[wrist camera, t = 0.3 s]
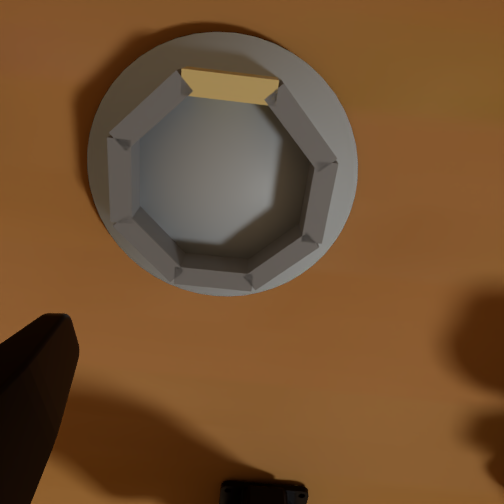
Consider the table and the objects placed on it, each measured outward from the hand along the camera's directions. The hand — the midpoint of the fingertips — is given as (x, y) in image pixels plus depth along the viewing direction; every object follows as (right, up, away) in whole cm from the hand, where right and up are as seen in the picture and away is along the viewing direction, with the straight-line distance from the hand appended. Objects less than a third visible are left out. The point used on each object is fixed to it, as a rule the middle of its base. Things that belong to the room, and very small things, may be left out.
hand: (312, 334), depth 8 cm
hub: (-3, +5, +13) cm, 14 cm away
